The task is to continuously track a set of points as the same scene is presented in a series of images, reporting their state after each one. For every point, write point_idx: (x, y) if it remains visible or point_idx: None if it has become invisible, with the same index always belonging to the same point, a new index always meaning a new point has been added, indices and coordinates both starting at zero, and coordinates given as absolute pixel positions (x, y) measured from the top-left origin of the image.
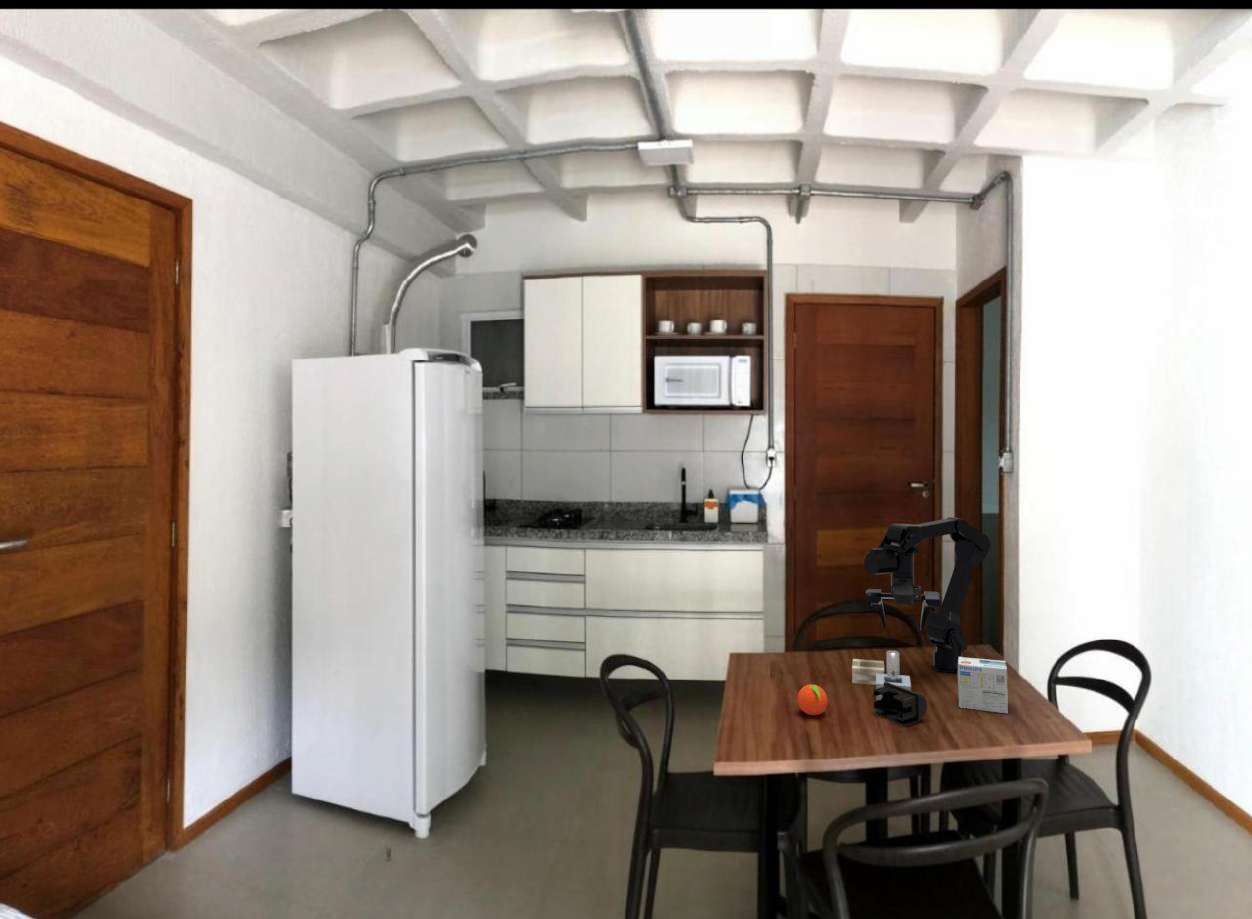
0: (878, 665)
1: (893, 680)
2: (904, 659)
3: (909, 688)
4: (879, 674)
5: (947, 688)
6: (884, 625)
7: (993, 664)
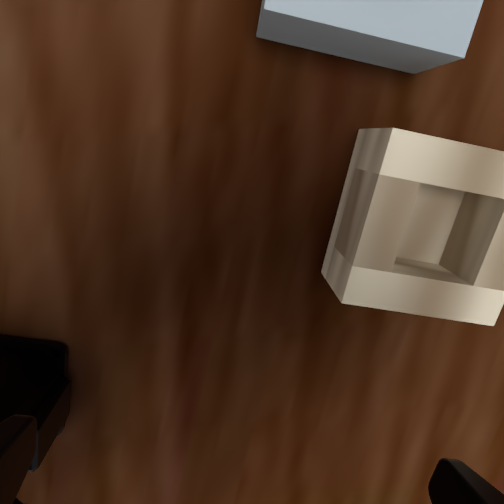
0: (396, 222)
1: None
2: (182, 476)
3: None
4: (451, 33)
5: (47, 109)
6: (481, 488)
7: None
